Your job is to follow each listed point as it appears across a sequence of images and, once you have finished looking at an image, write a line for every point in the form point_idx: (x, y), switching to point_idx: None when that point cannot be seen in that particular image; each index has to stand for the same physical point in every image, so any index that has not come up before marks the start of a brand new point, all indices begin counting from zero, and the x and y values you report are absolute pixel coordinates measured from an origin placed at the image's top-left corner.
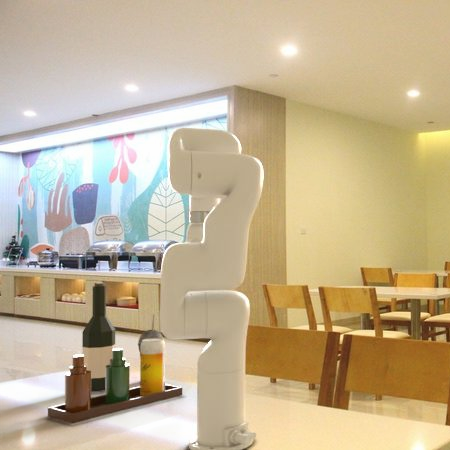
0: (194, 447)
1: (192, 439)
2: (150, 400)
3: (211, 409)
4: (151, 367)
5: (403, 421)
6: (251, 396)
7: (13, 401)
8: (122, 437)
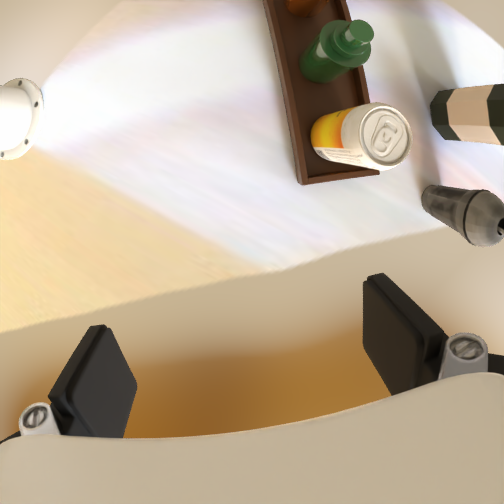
0: (9, 81)
1: (30, 85)
2: (287, 109)
3: None
4: (333, 119)
5: None
6: (200, 278)
7: (457, 17)
8: (134, 15)
